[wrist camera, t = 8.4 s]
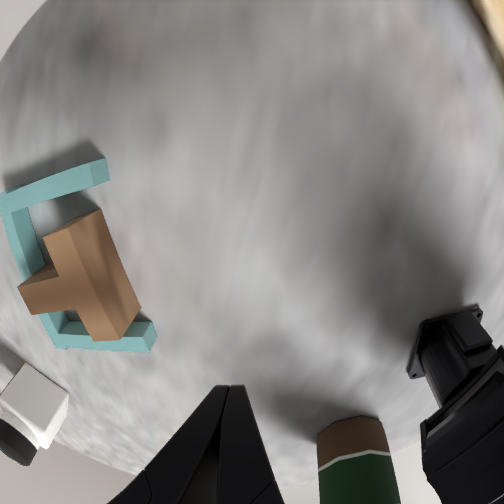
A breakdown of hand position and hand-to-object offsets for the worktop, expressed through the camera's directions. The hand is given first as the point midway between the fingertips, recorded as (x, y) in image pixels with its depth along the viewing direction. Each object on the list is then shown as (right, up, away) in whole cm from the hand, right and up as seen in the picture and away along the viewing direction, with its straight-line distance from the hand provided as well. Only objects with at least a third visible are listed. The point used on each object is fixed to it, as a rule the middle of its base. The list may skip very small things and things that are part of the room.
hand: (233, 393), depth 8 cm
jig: (-13, +3, +12) cm, 18 cm away
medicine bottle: (-26, -14, +21) cm, 36 cm away
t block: (-13, +3, +13) cm, 18 cm away
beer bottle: (+11, -16, +19) cm, 27 cm away
